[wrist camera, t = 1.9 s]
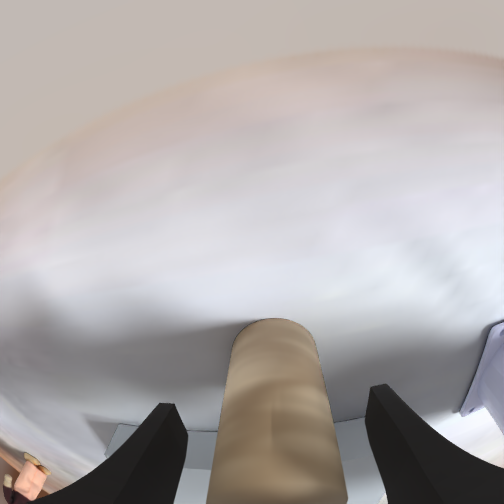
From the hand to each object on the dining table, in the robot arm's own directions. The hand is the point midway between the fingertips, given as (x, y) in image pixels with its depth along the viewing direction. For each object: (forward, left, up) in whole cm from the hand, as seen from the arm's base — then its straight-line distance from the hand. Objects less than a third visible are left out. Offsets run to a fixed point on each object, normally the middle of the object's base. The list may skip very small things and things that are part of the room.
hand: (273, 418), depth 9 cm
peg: (0, 0, -4) cm, 4 cm away
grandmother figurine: (+32, +21, -4) cm, 38 cm away
